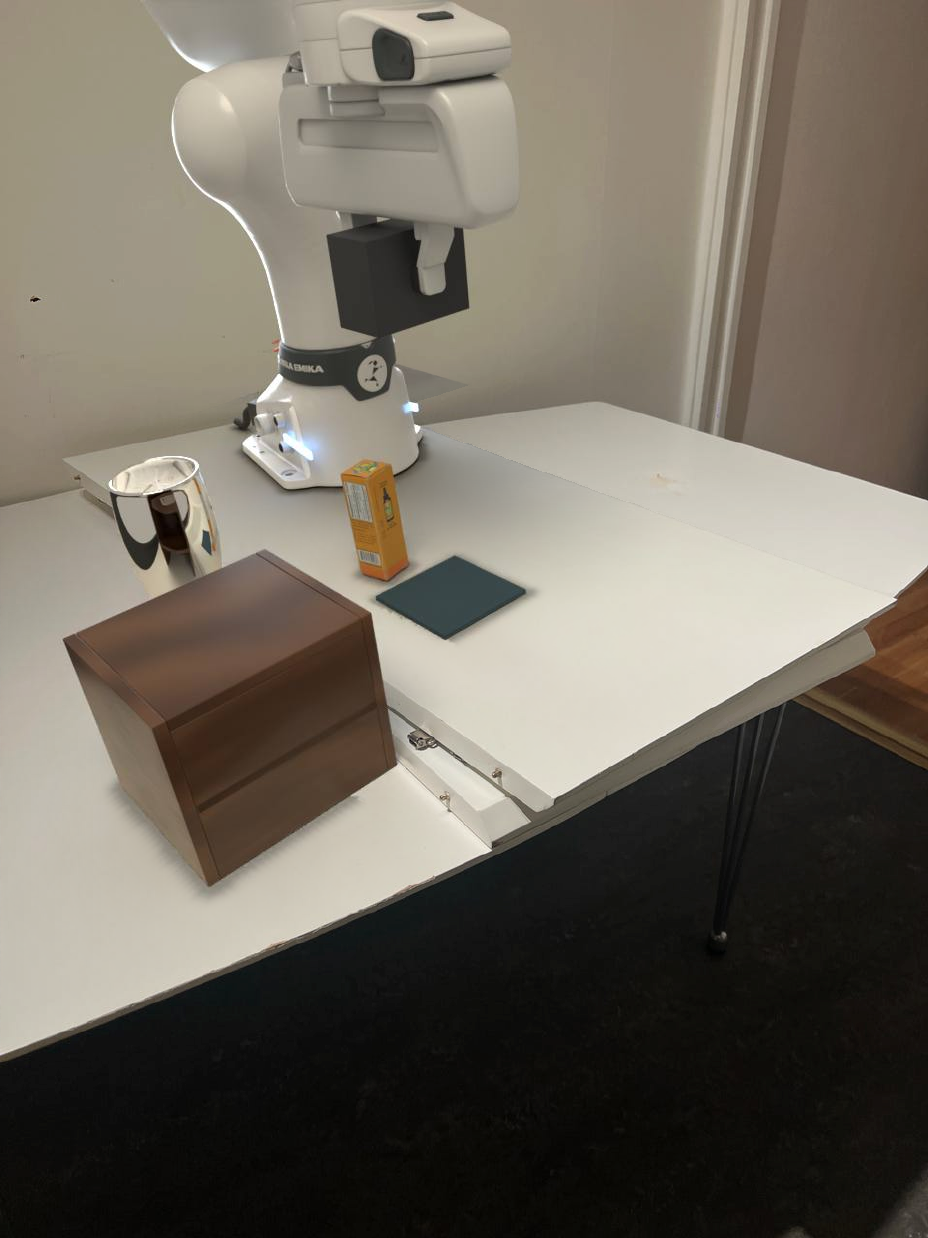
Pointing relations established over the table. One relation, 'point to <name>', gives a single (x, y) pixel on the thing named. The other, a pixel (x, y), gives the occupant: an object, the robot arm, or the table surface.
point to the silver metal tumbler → (165, 522)
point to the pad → (450, 596)
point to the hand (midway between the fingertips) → (402, 286)
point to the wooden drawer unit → (238, 707)
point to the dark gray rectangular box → (390, 279)
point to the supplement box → (375, 518)
